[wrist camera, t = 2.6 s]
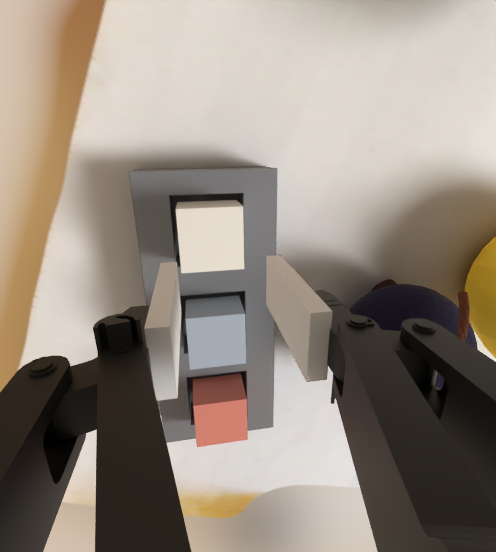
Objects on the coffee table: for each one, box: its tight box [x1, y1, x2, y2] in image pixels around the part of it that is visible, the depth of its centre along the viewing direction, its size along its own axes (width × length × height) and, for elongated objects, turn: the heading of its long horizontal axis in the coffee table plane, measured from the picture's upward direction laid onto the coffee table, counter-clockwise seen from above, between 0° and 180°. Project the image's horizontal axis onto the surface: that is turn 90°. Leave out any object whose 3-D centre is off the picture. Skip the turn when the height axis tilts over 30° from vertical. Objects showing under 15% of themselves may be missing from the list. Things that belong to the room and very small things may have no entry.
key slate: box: [185, 295, 246, 370], centre depth 30 cm, size 5×5×4 cm
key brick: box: [193, 374, 248, 447], centre depth 33 cm, size 5×5×4 cm
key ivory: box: [176, 200, 244, 273], centre depth 27 cm, size 5×5×4 cm
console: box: [129, 167, 277, 443], centre depth 33 cm, size 28×12×4 cm, turn 1°
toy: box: [350, 279, 477, 389], centre depth 32 cm, size 12×14×15 cm
